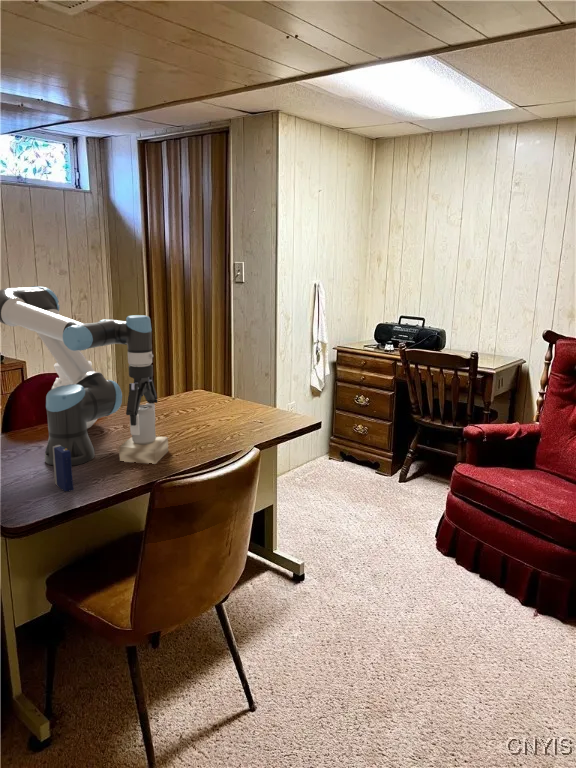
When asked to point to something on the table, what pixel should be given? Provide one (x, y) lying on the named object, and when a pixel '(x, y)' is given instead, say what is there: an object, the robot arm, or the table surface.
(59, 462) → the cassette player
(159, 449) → the pedestal
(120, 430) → the table surface
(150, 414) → the can
